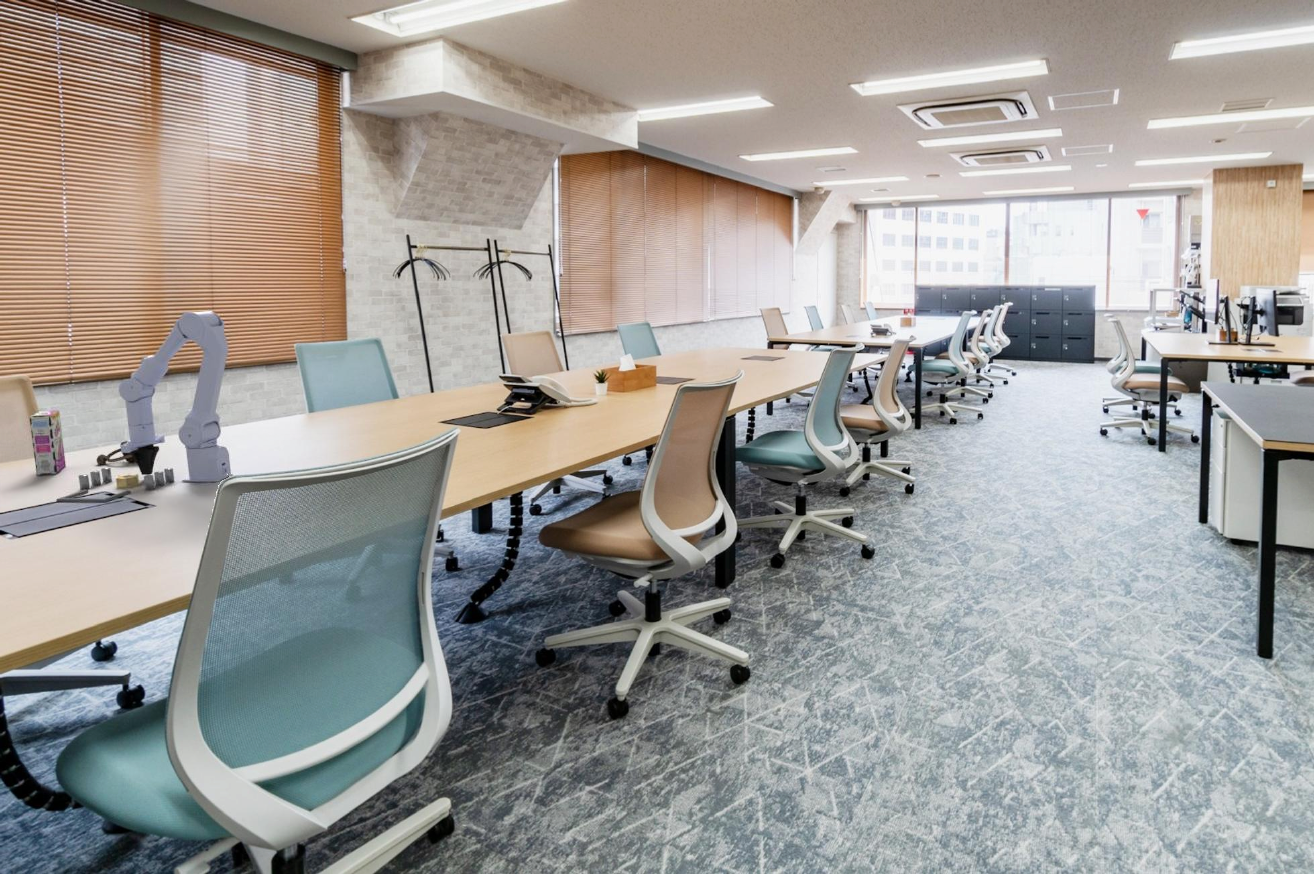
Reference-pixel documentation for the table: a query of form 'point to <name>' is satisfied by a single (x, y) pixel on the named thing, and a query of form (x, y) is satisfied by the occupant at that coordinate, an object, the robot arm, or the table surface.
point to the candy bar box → (47, 442)
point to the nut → (127, 480)
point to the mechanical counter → (127, 456)
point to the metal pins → (108, 478)
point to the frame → (71, 499)
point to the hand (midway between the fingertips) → (147, 474)
